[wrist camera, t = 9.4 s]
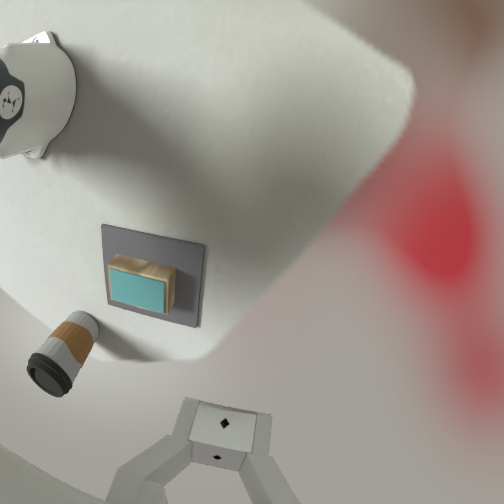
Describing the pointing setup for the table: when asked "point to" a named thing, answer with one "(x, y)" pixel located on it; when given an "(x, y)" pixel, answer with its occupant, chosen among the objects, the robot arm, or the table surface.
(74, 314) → the coffee cup
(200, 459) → the robot arm
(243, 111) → the table surface
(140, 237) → the mat
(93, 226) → the table surface
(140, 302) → the plaque
